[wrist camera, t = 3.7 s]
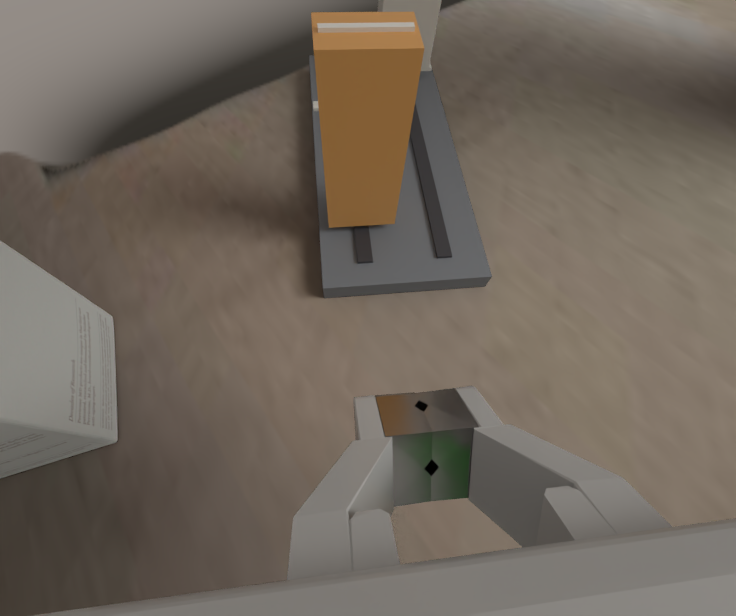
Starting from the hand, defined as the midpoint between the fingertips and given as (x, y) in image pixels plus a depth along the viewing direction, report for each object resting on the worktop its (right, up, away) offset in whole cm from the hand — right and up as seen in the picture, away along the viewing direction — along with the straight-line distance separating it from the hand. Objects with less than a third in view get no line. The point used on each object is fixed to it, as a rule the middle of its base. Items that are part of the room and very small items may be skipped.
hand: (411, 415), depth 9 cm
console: (0, +14, +18) cm, 22 cm away
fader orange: (-2, +9, +14) cm, 16 cm away
